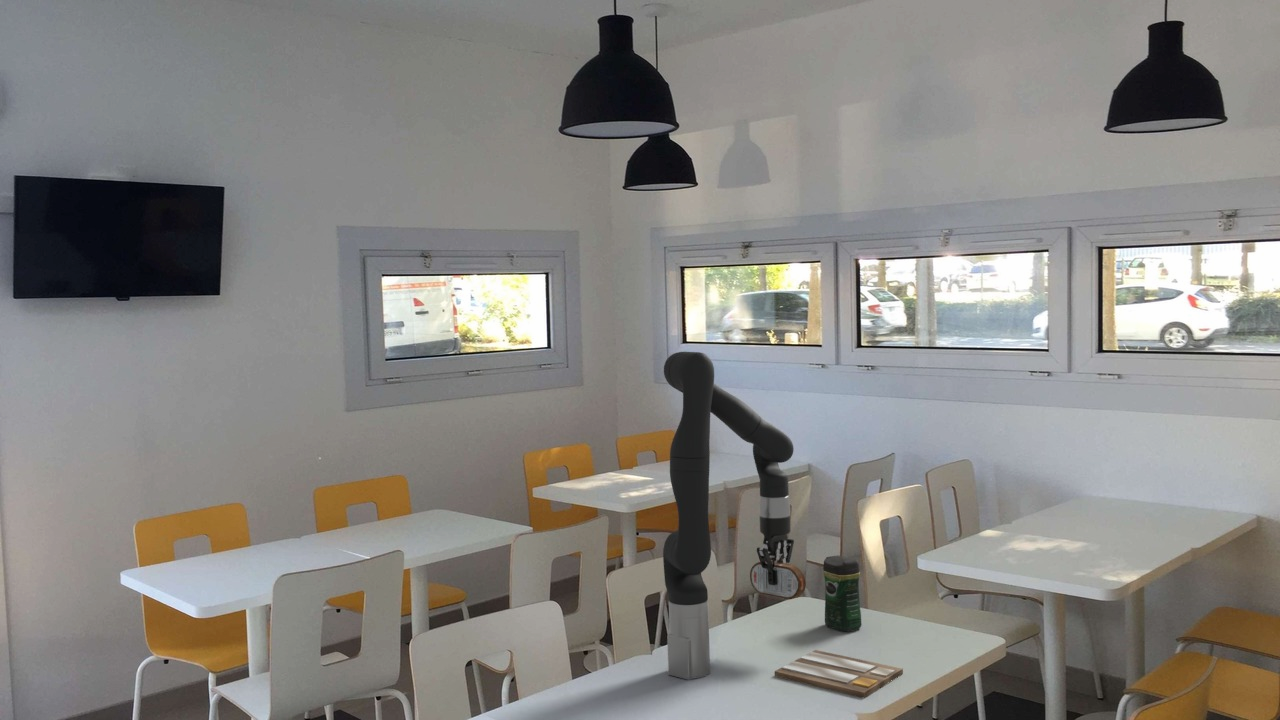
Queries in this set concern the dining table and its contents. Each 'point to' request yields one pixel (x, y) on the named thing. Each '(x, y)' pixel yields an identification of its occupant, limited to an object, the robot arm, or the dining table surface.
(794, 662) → the board
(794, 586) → the tin
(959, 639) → the dining table surface
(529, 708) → the dining table surface
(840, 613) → the coffee jar
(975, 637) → the dining table surface
